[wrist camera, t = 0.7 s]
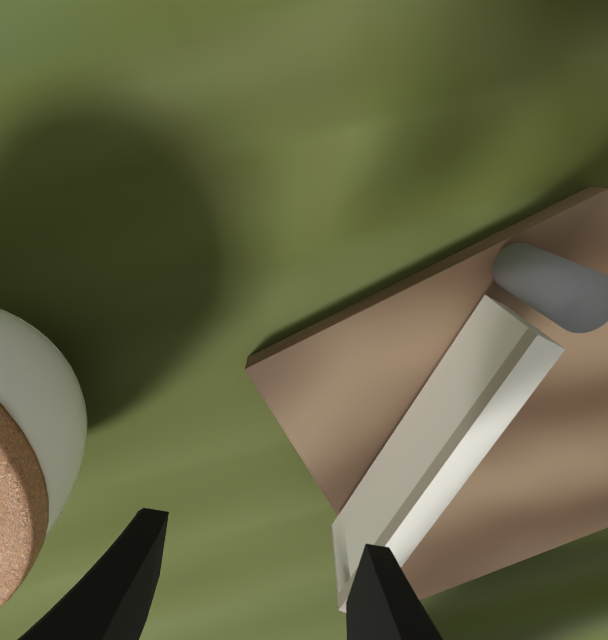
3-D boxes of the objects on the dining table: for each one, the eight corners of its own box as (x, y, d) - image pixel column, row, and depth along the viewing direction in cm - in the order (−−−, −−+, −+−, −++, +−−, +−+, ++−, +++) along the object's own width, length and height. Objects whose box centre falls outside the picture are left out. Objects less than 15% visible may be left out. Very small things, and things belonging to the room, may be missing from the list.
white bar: (511, 233, 17) (580, 260, 13) (551, 256, 17) (632, 289, 13) (323, 521, 21) (329, 611, 17) (358, 535, 21) (372, 627, 17)
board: (679, 474, 22) (775, 556, 18) (392, 588, 25) (413, 686, 20) (589, 186, 18) (688, 197, 13) (248, 356, 20) (233, 416, 16)
